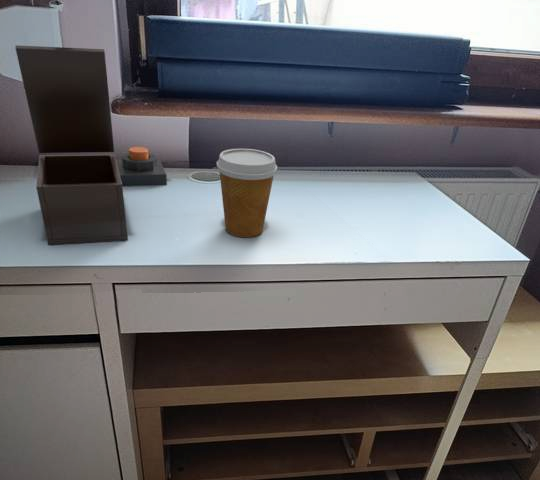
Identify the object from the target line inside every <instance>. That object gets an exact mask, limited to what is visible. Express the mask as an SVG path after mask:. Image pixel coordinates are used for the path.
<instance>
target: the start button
mask: <svg viewBox="0 0 540 480" xmlns="http://www.w3.org/2000/svg"><path fill="white" fill-rule="evenodd" d="M128 153H129V156H130V159H132V160H147V159H149V158H148V153H149V149H148V148H146V147H143V146H132V147H130V148H128Z"/></svg>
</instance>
